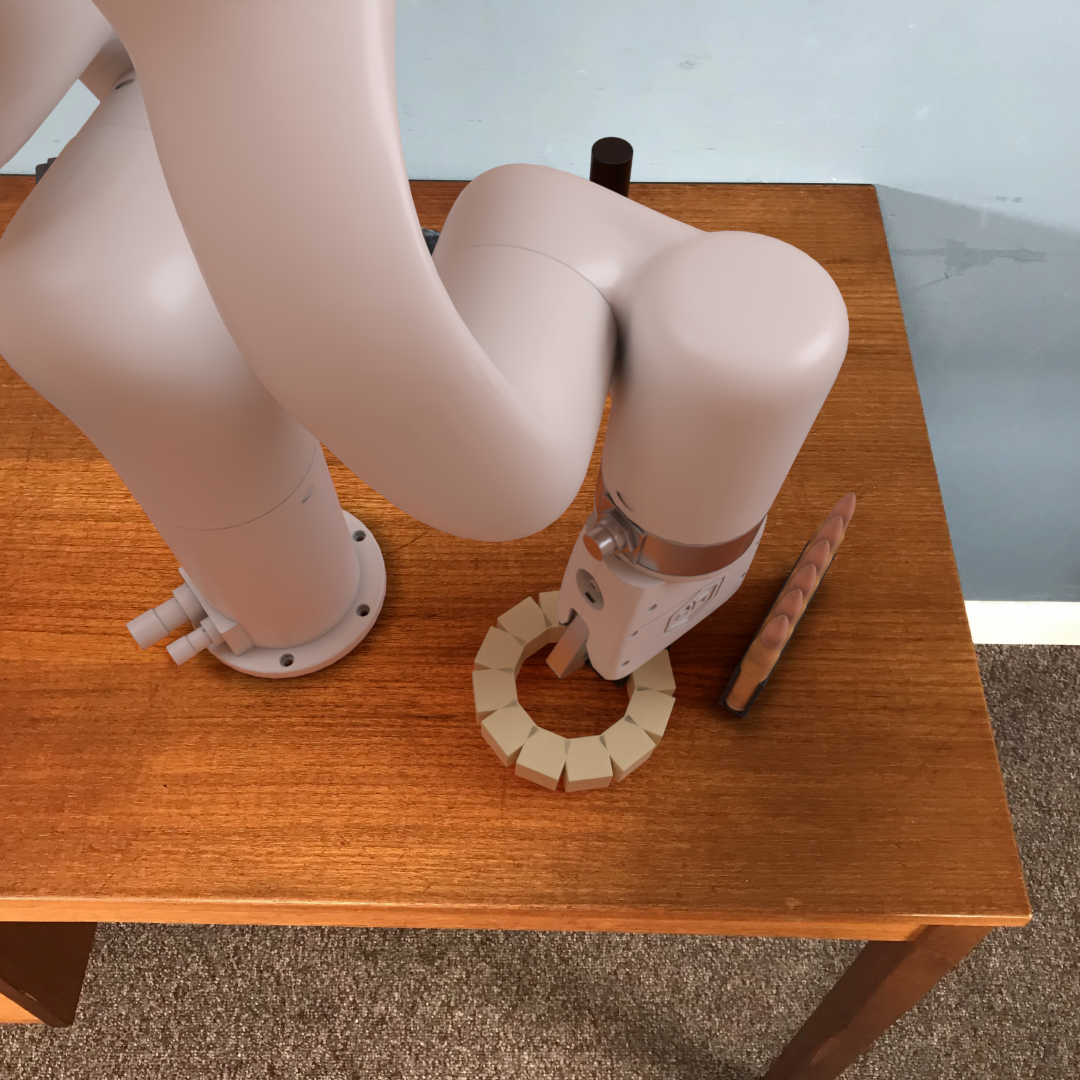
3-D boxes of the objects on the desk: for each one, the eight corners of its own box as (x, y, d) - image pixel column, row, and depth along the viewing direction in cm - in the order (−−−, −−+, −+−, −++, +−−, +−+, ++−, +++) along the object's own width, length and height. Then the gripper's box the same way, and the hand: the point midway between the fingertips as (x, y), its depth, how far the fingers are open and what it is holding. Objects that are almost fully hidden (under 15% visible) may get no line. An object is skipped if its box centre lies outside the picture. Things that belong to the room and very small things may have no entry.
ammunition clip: (744, 719, 56) (793, 640, 46) (716, 704, 56) (759, 621, 46) (815, 588, 61) (875, 489, 50) (790, 574, 61) (843, 473, 51)
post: (594, 326, 72) (604, 210, 62) (524, 261, 75) (523, 142, 66) (679, 276, 75) (702, 158, 65) (607, 215, 78) (619, 94, 68)
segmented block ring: (555, 833, 51) (558, 823, 49) (436, 676, 55) (433, 660, 53) (706, 711, 55) (715, 698, 53) (584, 573, 59) (587, 556, 57)
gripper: (594, 658, 36) (562, 780, 52) (866, 459, 42) (762, 624, 58) (482, 527, 39) (484, 681, 55) (751, 356, 45) (682, 541, 61)
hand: (627, 651), depth 56 cm, fingers closed on segmented block ring, 2 cm apart
